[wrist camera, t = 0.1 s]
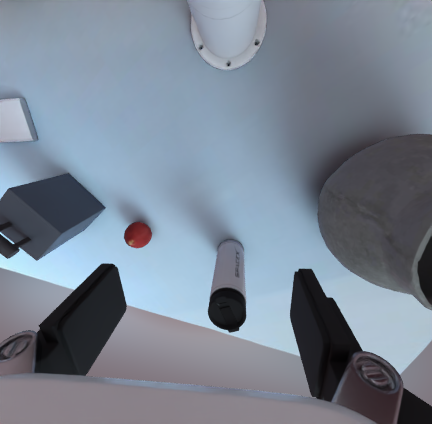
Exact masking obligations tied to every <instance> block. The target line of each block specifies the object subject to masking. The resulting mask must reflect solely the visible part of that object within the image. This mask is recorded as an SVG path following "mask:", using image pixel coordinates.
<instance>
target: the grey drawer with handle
mask: <svg viewBox="0 0 432 424" xmlns="http://www.w3.org/2000/svg"><path fill="white" fill-rule="evenodd" d="M104 209H105V207H104V206H103V205H102V204H101V203H100V202H99V201H98V200H97V199H96V198H95V197H93V196H92V195H91V194H90V193H89V192H88V191H87V190H86V189H85V188H84V187H83V186H82V185H81V184H79V183H78V182H77V181H76V180H75V179H74V178H73V177H72V176H71V175H70V174H69V173H68V174H64V175H60V176H56V177H52V178H48V179H44V180H40V181H36V182H32V183H28V184H24V185H20V186H16V187H12V188H9V189H8V190H7V191H6V193H5V194H4V195H3V197H2V198H1V200H0V232H1V233H3V234H4V235H5V236H6V237H8V238H9V239H10V240H11V241H13V242H14V243H15V244H12V243H11V242H9V241H8V240H7V239H6V238H4V237H3V236H2V235H1V234H0V253H1V254H2V255H3V256H4V257H6V258H7V259H8V258H10V257H12V256H14V255H15V254H16V253H18V252H19V249H18V248H19V247H20V248H21V249H23V250H24V251H25V252H26V253H28V254H29V255H30V256H31V257H33V258H34V259H35V260H36V261H37V260H39V259H40V258H42V257H43V256H45V255H47V254H48V253H50V252H51V251H53V250H54V249H56V248H57V247H59V246H60V245H62V244H63V243H65V242H66V241H68V240H70V239H71V238H73V237H74V236H76V235H77V234H79V233H80V232H82V231H83V230H85V229H86V228H87V227H88V226H89V225H90V224H91V223H92V222H93V220H94V219H95V218H96V217H97V216H98V215H99V214H100V213H101V212H102V211H103V210H104Z"/></svg>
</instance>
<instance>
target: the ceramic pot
mask: <svg viewBox="0 0 432 424" xmlns="http://www.w3.org/2000/svg"><path fill="white" fill-rule="evenodd" d="M318 223H319V228H320V232H321V235H322V237H323V239H324V241H325V244H326V246H327V247H328V249H329V250H330V251H331V253H332V254H333V255H334V256H335V257H336V259H337V260H338V261H339V262H340V263H341V264H342V265H343V266H344V267H346V268H347V269H348V270H350V271H351V272H353V273H354V274H356V275H358V276H359V277H361V278H363V279H364V280H366V281H368V282H370V283H372V284H375V285H377V286H380V287H383V288H386V289H390V290H393V291H397V292H402V293H406V294H411V295H413V296H414V297H415V298H416V299H417V300H418V301H419V302H420V303H421V304H422V305H423V306H424V307H426V308H428V309H430V310H432V135H430V134H413V135H406V136H400V137H395V138H390V139H387V140H383V141H380V142H378V143H376V144H373V145H371V146H369V147H367V148H365V149H363V150H362V151H360V152H358V153H357V154H355V155H354V156H352V157H351V158H349V159H348V160H347V161H346V162H344V163H343V164H342V165H341V166H340V167H339V168H338V169H337V170H336V171H335V172H334V173H333V174H332V175H331V176H330V177H329V178H328V179H327V181H326V183H325V184H324V186H323V188H322V190H321V193H320V197H319V202H318Z"/></svg>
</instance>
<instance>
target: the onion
mask: <svg viewBox="0 0 432 424" xmlns="http://www.w3.org/2000/svg"><path fill="white" fill-rule="evenodd" d="M151 237H152V232H151V229H150V228H149V227H148V226H147V225H146V224H144V223H141V222H135V223H132V224H131V225H129V226H128V228H127V229H126V230H125V234H124V239H125V242H126V243H127V244H128V245H129V246H131V247H134V248H141V247H144V246H145V245H147V244H148V243H149V241H150V240H151Z"/></svg>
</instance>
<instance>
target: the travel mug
mask: <svg viewBox="0 0 432 424" xmlns="http://www.w3.org/2000/svg"><path fill="white" fill-rule="evenodd" d="M208 315H209V318H210V320H211V321H212V323H213V324H214V325H216V326H217V327H219V328H221V329H224V330H228V331H229V333H230V332H235V331H239V327H240V326H242V325H243V323H244V322H245V320H246V291H245V268H244V249H243V246H242V245H241V244H240V243H239V242H238V241H235V240H226V241H223V242H222V243H221V244H220V245H219V248H218V253H217V259H216V265H215V270H214V276H213V282H212V288H211V294H210V302H209V308H208Z"/></svg>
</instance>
